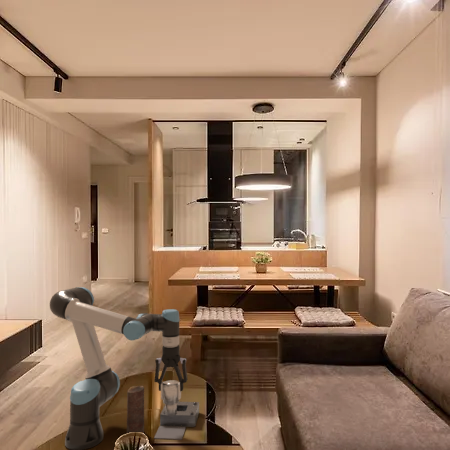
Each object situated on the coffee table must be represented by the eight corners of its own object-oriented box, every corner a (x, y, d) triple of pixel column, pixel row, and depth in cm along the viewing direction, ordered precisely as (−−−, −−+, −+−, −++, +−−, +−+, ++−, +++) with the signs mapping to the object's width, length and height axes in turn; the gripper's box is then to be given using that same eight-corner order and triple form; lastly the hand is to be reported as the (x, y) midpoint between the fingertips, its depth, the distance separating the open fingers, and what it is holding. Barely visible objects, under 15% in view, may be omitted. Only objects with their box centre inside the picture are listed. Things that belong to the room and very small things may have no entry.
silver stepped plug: (161, 417, 156) (161, 386, 156) (165, 409, 163) (165, 380, 163) (177, 417, 155) (177, 386, 156) (180, 409, 162) (180, 380, 163)
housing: (160, 425, 165) (160, 413, 165) (166, 411, 179) (167, 400, 179) (194, 426, 164) (194, 414, 164) (199, 412, 178) (199, 401, 178)
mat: (153, 438, 154) (153, 437, 154) (159, 426, 164) (159, 426, 164) (181, 439, 153) (181, 438, 153) (185, 427, 163) (185, 426, 163)
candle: (139, 440, 153) (139, 391, 154) (123, 438, 155) (124, 390, 156) (146, 430, 161) (147, 384, 162) (131, 429, 162) (132, 383, 163)
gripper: (146, 347, 158) (146, 401, 156) (191, 347, 156) (192, 402, 155) (151, 342, 165) (151, 394, 164) (194, 343, 164) (194, 395, 163)
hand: (171, 398), depth 159 cm, fingers closed on silver stepped plug, 7 cm apart
